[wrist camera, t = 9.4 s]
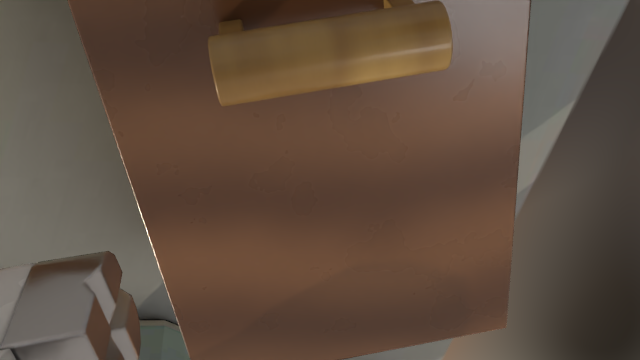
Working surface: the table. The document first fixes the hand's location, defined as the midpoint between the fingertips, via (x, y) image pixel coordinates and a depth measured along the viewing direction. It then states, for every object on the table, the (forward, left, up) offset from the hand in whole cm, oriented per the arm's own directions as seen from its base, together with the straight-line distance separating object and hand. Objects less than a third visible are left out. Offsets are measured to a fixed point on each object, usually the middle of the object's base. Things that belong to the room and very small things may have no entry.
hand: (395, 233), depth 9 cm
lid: (+6, +2, -12) cm, 13 cm away
